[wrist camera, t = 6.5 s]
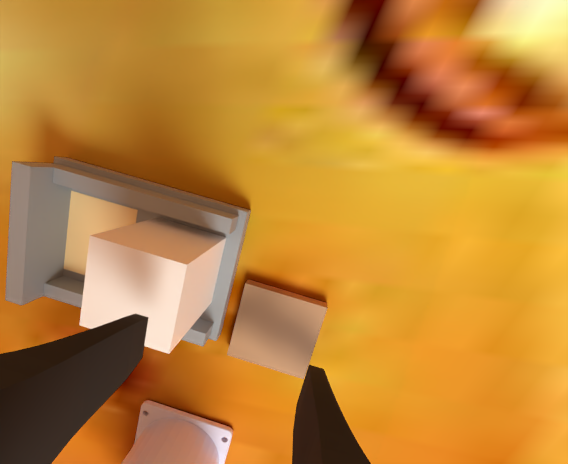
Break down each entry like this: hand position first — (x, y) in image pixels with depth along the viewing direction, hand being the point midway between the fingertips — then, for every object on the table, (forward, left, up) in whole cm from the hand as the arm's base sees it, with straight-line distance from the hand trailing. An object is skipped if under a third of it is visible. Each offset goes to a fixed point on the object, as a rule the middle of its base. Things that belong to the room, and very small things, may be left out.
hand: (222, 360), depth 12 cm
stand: (-3, -2, -9) cm, 10 cm away
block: (0, +6, -8) cm, 10 cm away
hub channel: (0, +9, -9) cm, 13 cm away
